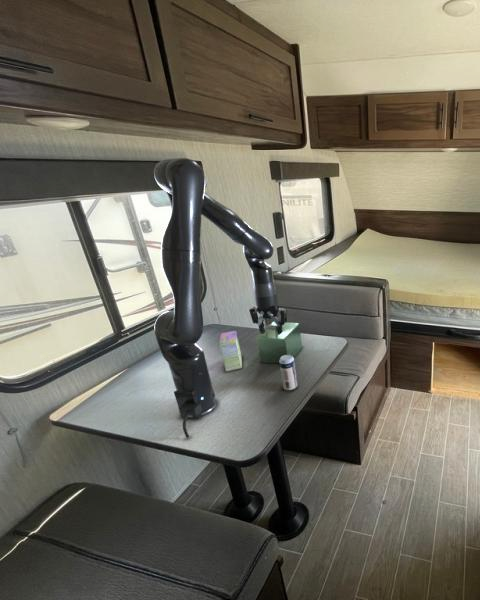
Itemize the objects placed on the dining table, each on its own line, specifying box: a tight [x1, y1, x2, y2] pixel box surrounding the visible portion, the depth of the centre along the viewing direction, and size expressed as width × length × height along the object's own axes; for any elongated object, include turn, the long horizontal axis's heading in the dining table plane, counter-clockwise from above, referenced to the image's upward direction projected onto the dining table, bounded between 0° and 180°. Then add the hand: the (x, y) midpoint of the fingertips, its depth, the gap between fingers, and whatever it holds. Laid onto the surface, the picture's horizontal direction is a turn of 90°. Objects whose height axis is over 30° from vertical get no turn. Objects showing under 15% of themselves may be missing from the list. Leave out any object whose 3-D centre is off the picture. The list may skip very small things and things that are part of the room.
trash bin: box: [256, 324, 303, 364], centre depth 132 cm, size 14×12×11 cm
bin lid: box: [254, 321, 300, 341], centre depth 129 cm, size 14×12×5 cm
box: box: [218, 330, 243, 372], centre depth 126 cm, size 10×6×12 cm, turn 25°
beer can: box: [278, 355, 298, 391], centre depth 111 cm, size 5×5×12 cm
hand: (271, 333), depth 125 cm, fingers open, 6 cm apart
